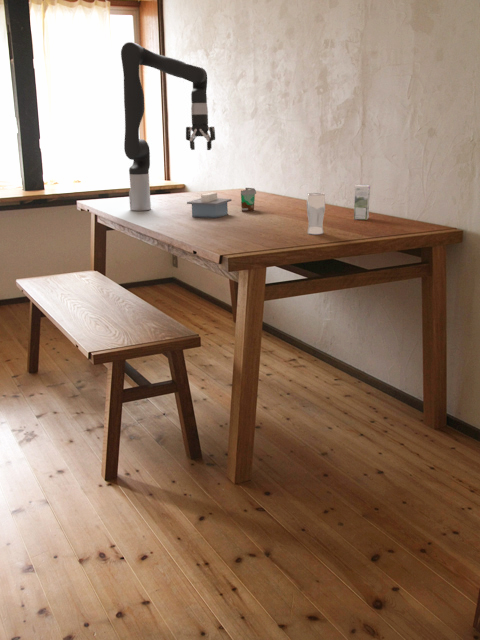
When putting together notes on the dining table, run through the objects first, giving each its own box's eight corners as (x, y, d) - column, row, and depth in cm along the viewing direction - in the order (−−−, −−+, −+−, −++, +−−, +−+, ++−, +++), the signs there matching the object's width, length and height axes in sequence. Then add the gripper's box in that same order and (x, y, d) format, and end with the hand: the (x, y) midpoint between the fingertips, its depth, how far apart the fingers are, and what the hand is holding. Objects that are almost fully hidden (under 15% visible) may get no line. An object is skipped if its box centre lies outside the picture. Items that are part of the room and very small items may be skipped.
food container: (253, 212, 298) (253, 190, 295) (241, 212, 299) (240, 190, 296) (258, 208, 309) (258, 187, 306) (246, 208, 310) (245, 187, 307)
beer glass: (304, 232, 248) (305, 193, 244) (322, 231, 249) (323, 192, 244) (308, 235, 242) (308, 195, 237) (326, 234, 242) (327, 194, 237)
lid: (186, 203, 286) (186, 195, 285) (202, 199, 299) (202, 191, 298) (216, 205, 280) (216, 196, 279) (231, 200, 293) (231, 192, 292)
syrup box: (368, 218, 276) (370, 184, 272) (366, 220, 271) (368, 185, 267) (355, 217, 278) (356, 183, 274) (353, 219, 273) (354, 185, 268)
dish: (192, 216, 289) (191, 203, 287) (204, 213, 299) (204, 200, 297) (215, 218, 284) (215, 204, 282) (227, 214, 294) (227, 201, 292)
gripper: (182, 113, 294) (183, 150, 299) (209, 113, 288) (210, 150, 293) (190, 113, 300) (191, 149, 305) (217, 113, 294) (218, 149, 299)
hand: (200, 149), depth 299 cm, fingers open, 8 cm apart
